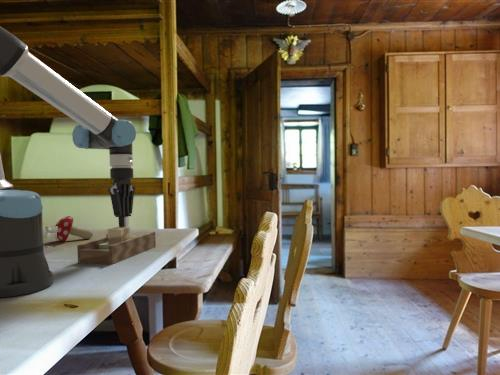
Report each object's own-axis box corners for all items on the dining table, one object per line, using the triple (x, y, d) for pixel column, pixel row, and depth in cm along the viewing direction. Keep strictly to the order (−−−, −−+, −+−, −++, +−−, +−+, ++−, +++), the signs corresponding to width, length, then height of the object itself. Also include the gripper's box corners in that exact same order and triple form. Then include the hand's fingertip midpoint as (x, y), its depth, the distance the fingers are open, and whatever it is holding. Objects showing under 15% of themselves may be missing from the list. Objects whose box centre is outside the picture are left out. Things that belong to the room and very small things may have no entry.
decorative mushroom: (97, 217, 162) (61, 208, 155) (96, 234, 154) (57, 224, 146) (88, 236, 166) (53, 227, 159) (86, 253, 158) (48, 244, 150)
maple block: (121, 244, 122) (120, 229, 122) (108, 244, 123) (107, 229, 123) (129, 241, 127) (129, 227, 127) (116, 241, 128) (116, 226, 128)
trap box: (112, 264, 111) (111, 246, 111) (78, 262, 114) (77, 245, 114) (155, 246, 138) (155, 232, 137) (126, 246, 140) (126, 231, 140)
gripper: (120, 166, 120) (123, 239, 121) (141, 167, 133) (143, 232, 134) (100, 167, 122) (102, 238, 123) (122, 167, 134) (125, 232, 135)
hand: (124, 235), depth 128 cm, fingers closed
